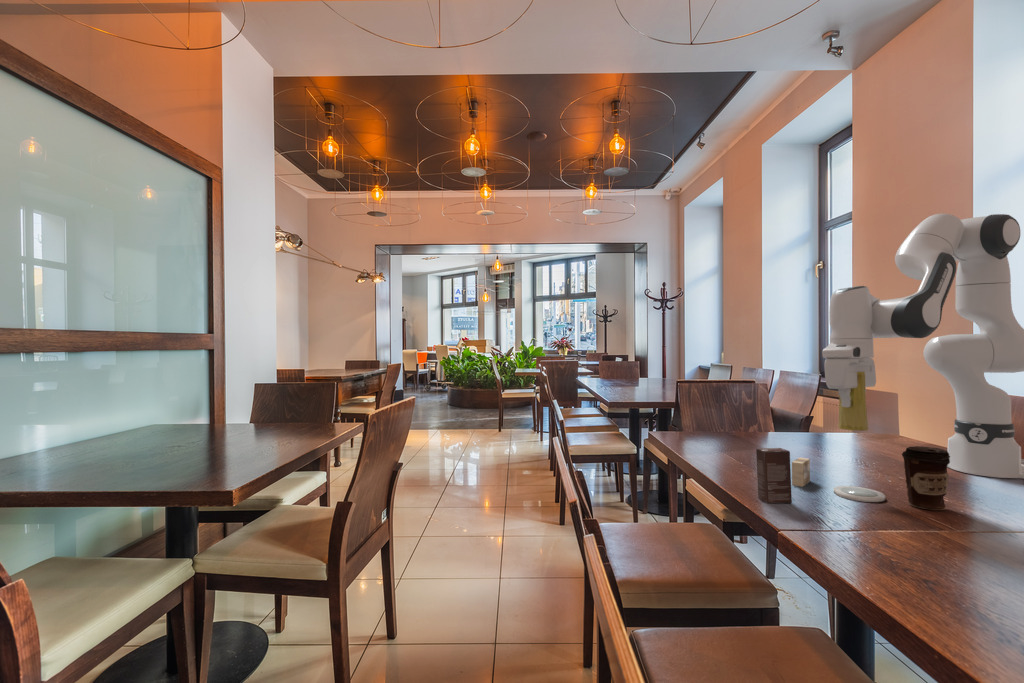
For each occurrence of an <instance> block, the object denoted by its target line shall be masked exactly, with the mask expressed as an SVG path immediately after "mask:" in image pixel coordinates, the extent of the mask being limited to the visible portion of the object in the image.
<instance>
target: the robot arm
mask: <svg viewBox="0 0 1024 683" xmlns="http://www.w3.org/2000/svg"><path fill="white" fill-rule="evenodd" d="M1020 238H1021V227H1020V224H1019V222H1018V220H1017V219H1015V217H1013V216H1012V215H1010V214H1006V213H1005V214H1004V213H1003V214H1001V213H996V214H989V215H986V216H976V217H970V218H963V219H960V218H959V217H957V216H955V215H953V214H950V213H936V214H932V215H930V216H928V217H927V218H925V219H923V220H922V221H921V222H919V224H917V226H916V227H914V228H913V229H912V231H910V233H909V234H908V235H907V236H906V238H905V239H904V240H903V242H902V243H901V244H900V246H899V247H898V249H897V251H896V253H895V256H894V263H895V265H896V268H897V269H898V270H899V272H900V273H901V274H902V275H905V276H906V277H908V278H910V279H913V280H916V281H921V282H920V285H919V286H918V290H917V291H916V292H915V293H913V294H910V295H907V296H903V297H898V298H891V299H889V298H888V299H880V298H879V297H876V296H874V295H872V294H871V293H870V289H869V287H868V286H865V285H856V286H852V287H851V286H850V287H845V288H840V289H837V290H835V291H834V292H833V293H832V294H831V297H830V300H829V311H828V313H829V318H828V319H829V325H830V327H831V333H830V336H829V338H830V339H829V344H828V345H827V346H826V347H824V348H823V349H822V352H821V353H822V354H821V355H822V358H824V359H825V360H824V378H825V384H826V386H827V388H828V389H829V390H837V391H838V395H839V396H840V398H841V405H842V407H852V400H851V399H850V393H851V388H857V386H858V382H857V372H865V394H866V392H867V389H866V388H870V387H871V388H872V387H876V384H877V373H876V365H875V361H874V359H873V358H874V356H875V355H874V339H891V338H894V339H896V338H907V339H924V338H927V337H929V336H930V335H932V334H933V333H934V332H935V331H936V330H937V329H938V327H939V326H940V324H941V321H942V315H943V307H944V305H945V302H946V300H947V297H948V294H949V292H950V290H951V289H952V288H951V287H952V285H953V283H954V279H955V307H954V308H955V312H956V313H957V314H958V315H959V316H960V317H961V318H963V319H965V320H967V321H970V322H973V323H975V324H976V325H977V327H978V329H979V331H980V333H965V334H964V333H962V334H961V333H958V334H957V333H955V334H954V333H952V334H946V335H941V336H936V337H932V338H931V339H929V340H928V341H927V342H926V344H925V345H924V348H923V354H922V355H923V358H924V360H925V362H926V364H927V365H928V366H929V367H930V368H931V369H933V370H934V371H936V372H937V373H939V374H940V375H942V376H943V377H944V378H945V379H946V380H947V382H948V384H949V385H950V386H951V389H952V391H953V393H954V399H955V412H956V414H955V416H956V419H954V423H953V427H954V432H955V433H954V435H951V436H950V437H948V438H947V450H946V451H947V452H948V453H949V456H950V458H949V459H950V463H949V464H948V466H947V468H949V469H951V470H953V471H957V472H961V473H966V474H970V475H977V476H983V477H989V478H990V477H991V478H999V479H1001V478H1003V479H1023V480H1024V458H1022V446H1020V444H1018V443H1017V441H1016V440H1015V439H1014V438H1015V436H1016V435H1015V433H1016V429H1015V425H1014V424H1013V423H1012V420H1013V419H1012V398H1011V396H1010V395H1009V394H1008V393H1007V392H1006V391H1005V390H1004V389H1002V388H1000V387H997V386H995V385H992V384H990V383H989V382H988V381H987V379H986V377H985V373H986V374H987V373H991V374H993V373H995V374H996V373H1000V374H1001V373H1002V374H1003V373H1005V374H1006V373H1009V374H1011V373H1013V374H1014V373H1021V372H1024V327H1022V326H1021V324H1020V323H1019V321H1017V319H1016V317H1015V314H1014V311H1013V306H1012V305H1013V304H1012V291H1011V289H1012V287H1011V286H1012V284H1011V280H1012V278H1011V268H1010V263H1009V258H1008V255H1009V253H1010V252H1012V251H1013V250H1014V248H1015V247H1016V246H1017V245H1018V243H1019V241H1020ZM957 262H958V263H957ZM839 396H838V397H839Z"/></svg>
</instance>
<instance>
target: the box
mask: <svg viewBox="0 0 1024 683" xmlns="http://www.w3.org/2000/svg"><path fill="white" fill-rule="evenodd" d="M755 451H756V454H755V455H756V473H757V474H756V476H757V478H756V479H757V497H758V500H760V501H762V502H764V503H766V504H778V503H779V504H780V503H781V504H782V503H783V504H784V503H785V504H786V503H788V504H789V503H790V504H792V502H793V500H792V498H793V497H792V469H791V451H790V450H787V449H785V448H781V447H774V448H773V447H768V448H767V447H766V448H765V447H762V448H761V447H760V448H757V447H756V449H755Z"/></svg>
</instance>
